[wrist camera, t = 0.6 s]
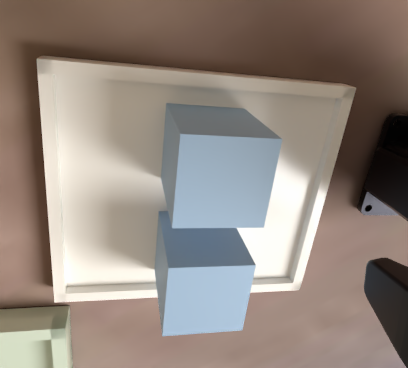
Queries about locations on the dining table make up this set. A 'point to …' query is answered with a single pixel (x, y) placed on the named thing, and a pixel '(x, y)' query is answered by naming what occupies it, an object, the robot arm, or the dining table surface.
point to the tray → (35, 337)
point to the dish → (152, 165)
